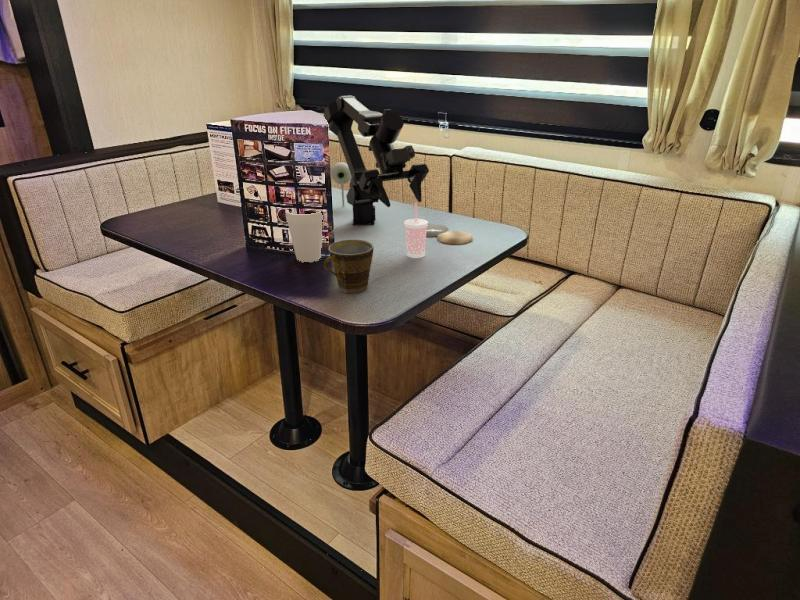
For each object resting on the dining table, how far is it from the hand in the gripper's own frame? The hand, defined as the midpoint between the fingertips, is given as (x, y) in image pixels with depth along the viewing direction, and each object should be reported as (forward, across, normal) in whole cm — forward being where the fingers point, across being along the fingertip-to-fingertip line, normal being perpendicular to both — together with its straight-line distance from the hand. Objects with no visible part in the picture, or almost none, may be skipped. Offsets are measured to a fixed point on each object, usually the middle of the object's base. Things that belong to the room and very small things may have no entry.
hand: (405, 203), depth 142 cm
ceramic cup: (+21, -24, -4) cm, 33 cm away
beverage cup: (+13, 0, +5) cm, 14 cm away
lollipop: (-24, +1, +42) cm, 48 cm away
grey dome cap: (+2, +14, +15) cm, 20 cm away
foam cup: (+4, -25, +13) cm, 29 cm away
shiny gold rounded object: (+9, +16, +9) cm, 20 cm away
